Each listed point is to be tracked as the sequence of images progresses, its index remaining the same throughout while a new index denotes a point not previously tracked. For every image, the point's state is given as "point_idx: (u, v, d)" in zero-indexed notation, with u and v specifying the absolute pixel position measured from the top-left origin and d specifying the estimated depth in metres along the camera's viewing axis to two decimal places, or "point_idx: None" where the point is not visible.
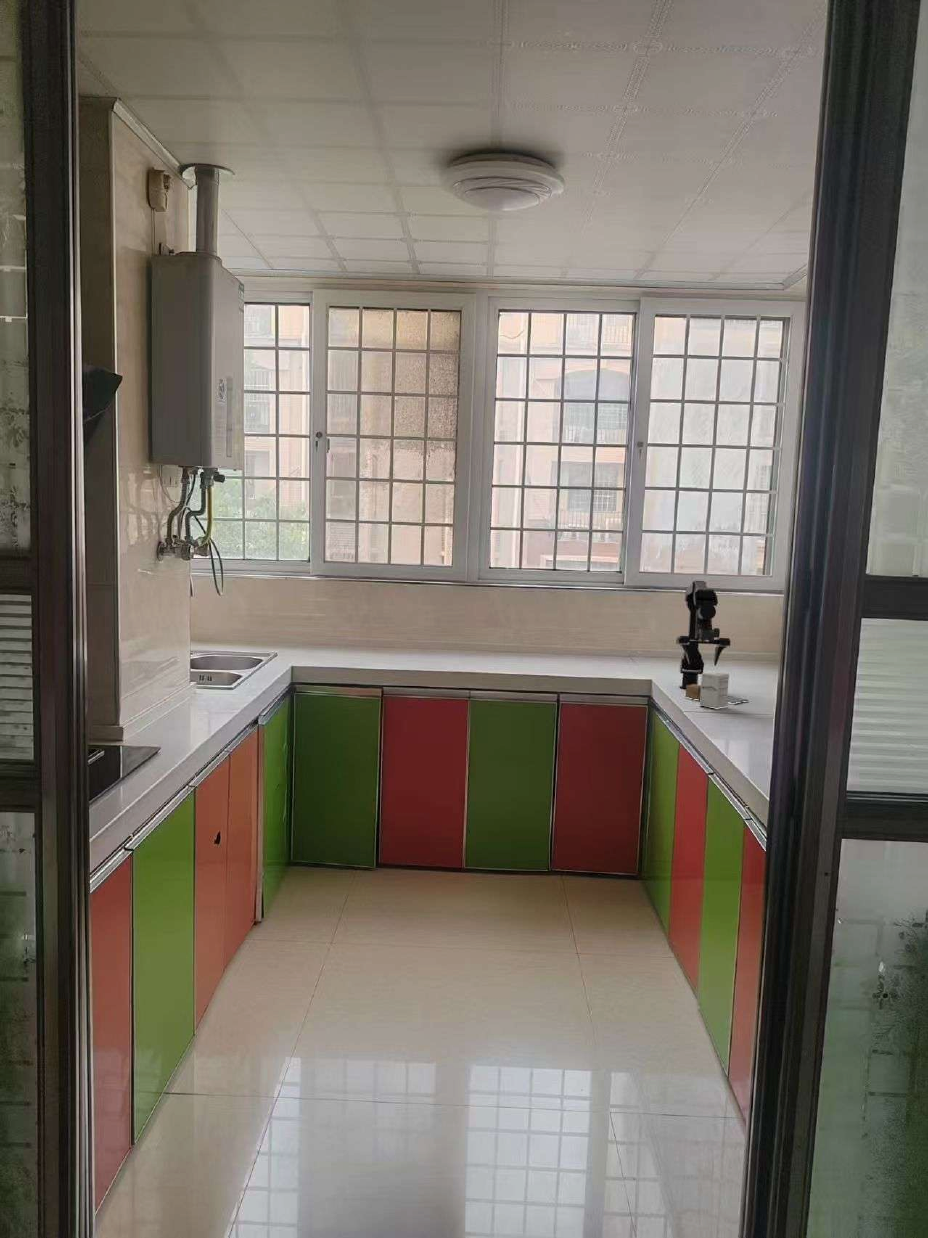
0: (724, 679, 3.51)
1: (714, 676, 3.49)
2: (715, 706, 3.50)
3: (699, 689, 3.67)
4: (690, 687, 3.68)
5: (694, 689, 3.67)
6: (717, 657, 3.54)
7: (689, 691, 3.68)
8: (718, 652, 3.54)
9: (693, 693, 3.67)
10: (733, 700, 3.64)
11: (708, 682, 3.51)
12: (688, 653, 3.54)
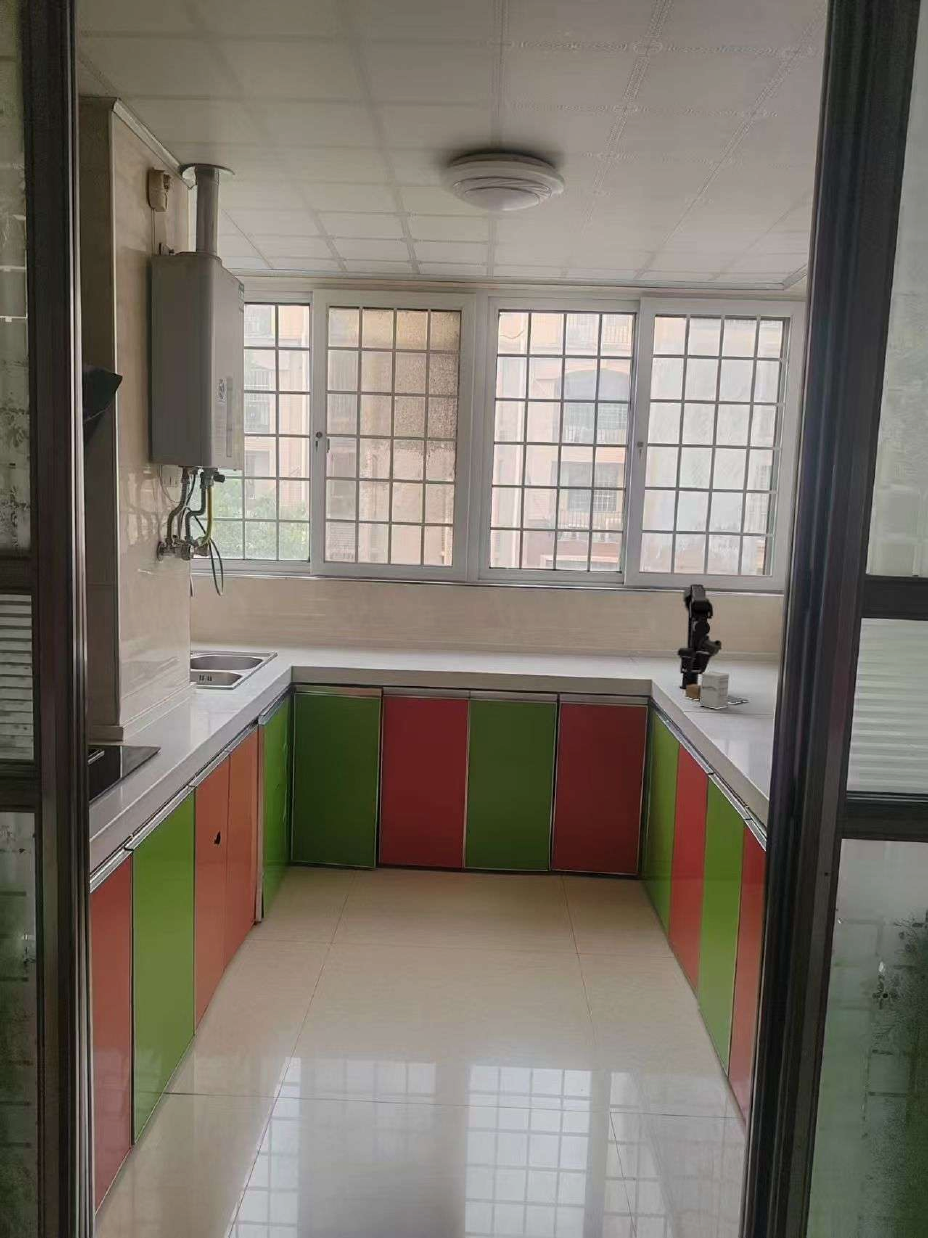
0: (724, 679, 3.51)
1: (714, 676, 3.49)
2: (715, 706, 3.50)
3: (699, 689, 3.67)
4: (690, 687, 3.68)
5: (694, 689, 3.67)
6: (706, 664, 3.71)
7: (689, 691, 3.68)
8: (708, 660, 3.71)
9: (693, 693, 3.67)
10: (733, 700, 3.64)
11: (708, 682, 3.51)
12: (691, 665, 3.63)
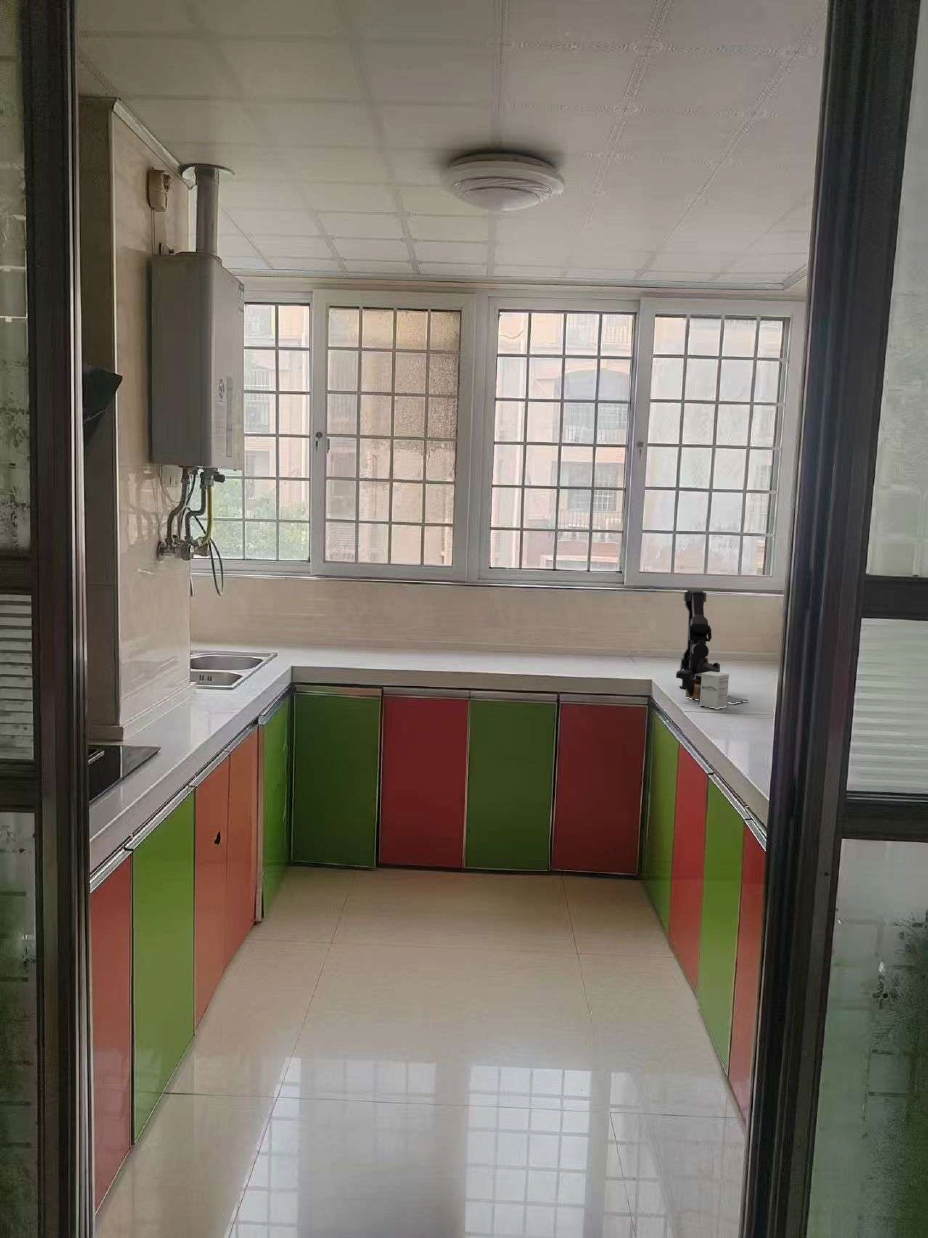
0: (724, 679, 3.51)
1: (714, 676, 3.49)
2: (715, 706, 3.50)
3: (699, 689, 3.67)
4: None
5: (694, 689, 3.67)
6: None
7: None
8: None
9: (693, 693, 3.67)
10: (733, 700, 3.64)
11: (708, 682, 3.51)
12: (693, 687, 3.66)
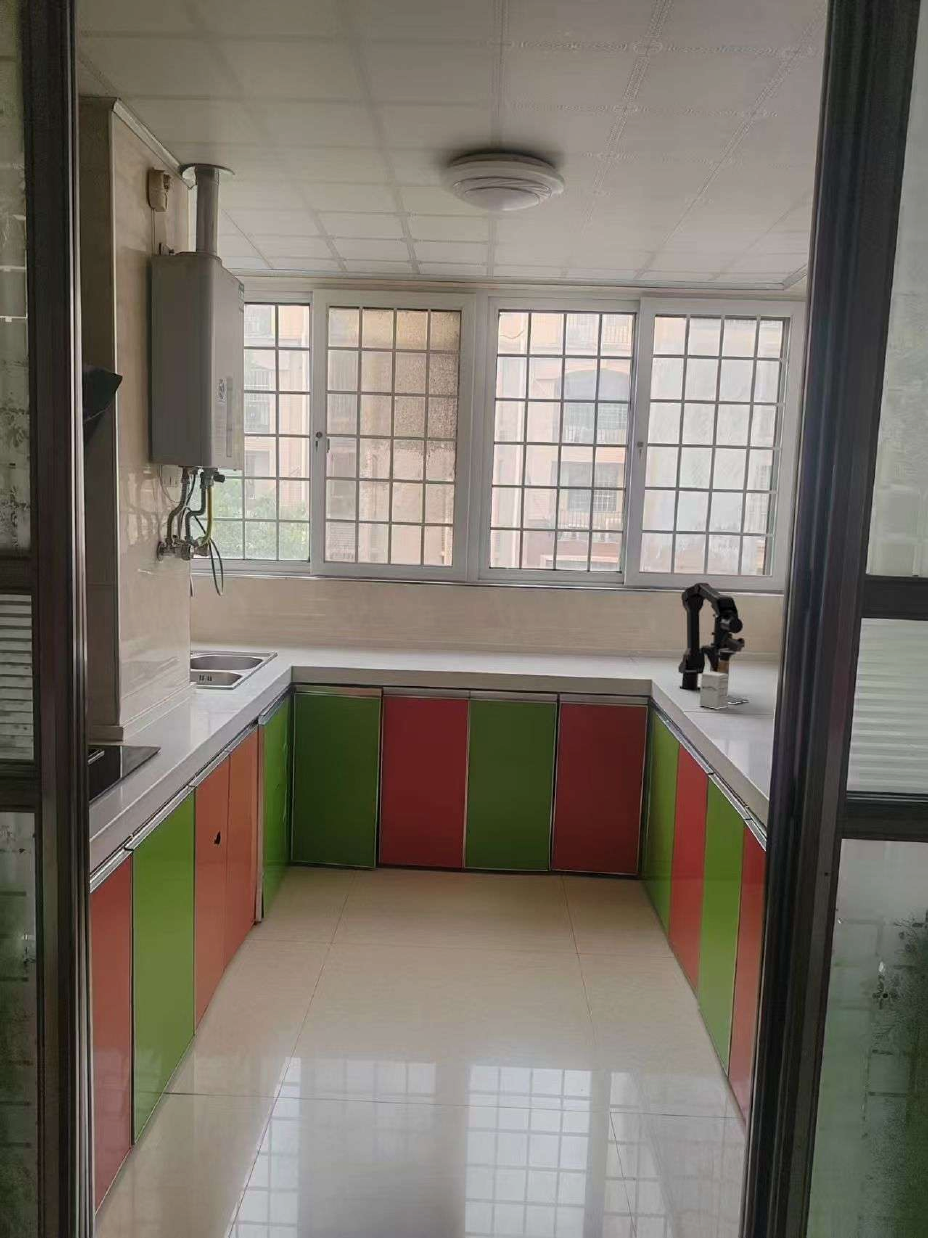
0: (724, 679, 3.51)
1: (714, 676, 3.49)
2: (715, 706, 3.50)
3: (723, 664, 3.63)
4: None
5: (718, 664, 3.63)
6: None
7: None
8: (728, 658, 3.67)
9: None
10: (733, 700, 3.64)
11: (708, 682, 3.51)
12: (717, 662, 3.62)
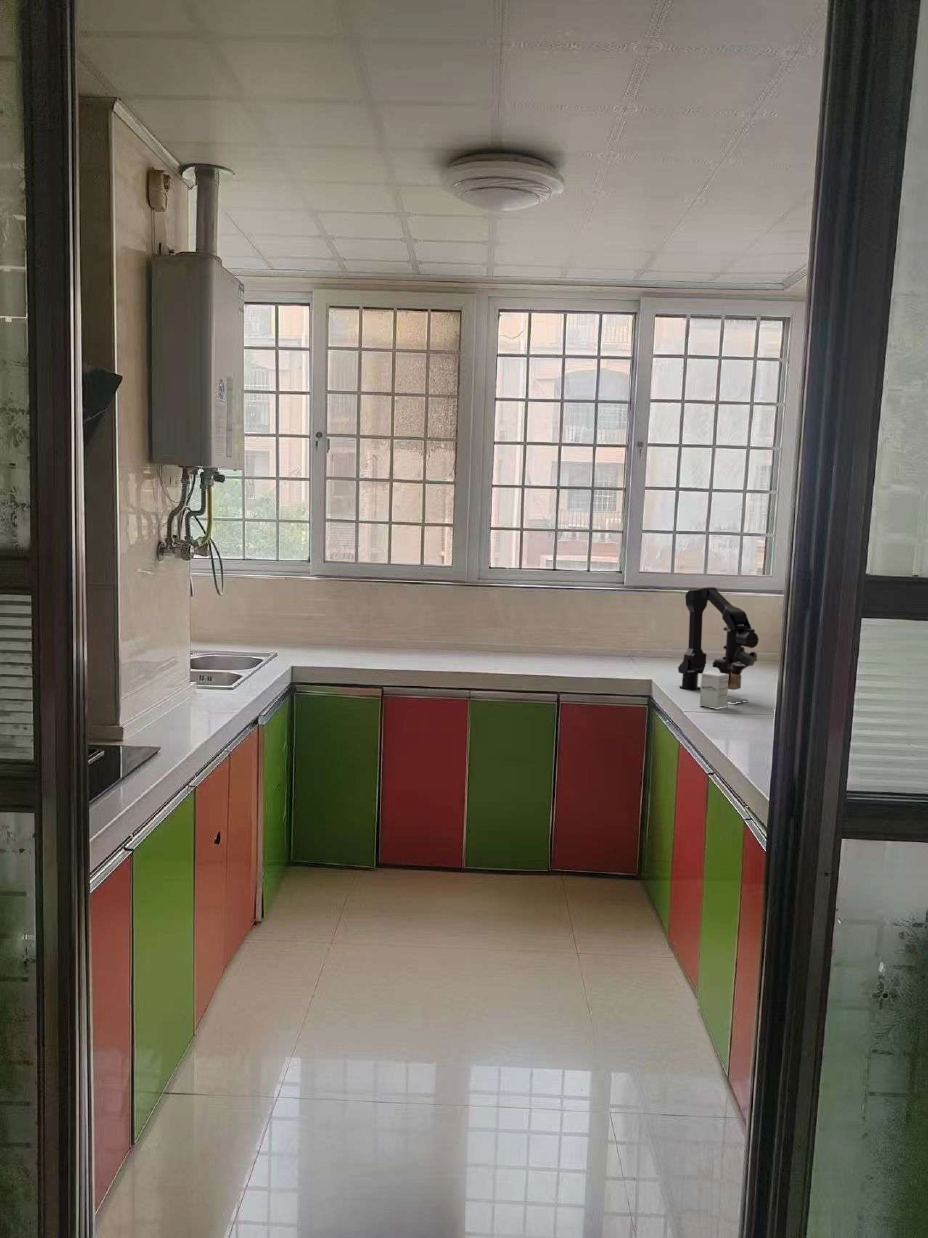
0: (724, 679, 3.51)
1: (714, 676, 3.49)
2: (715, 706, 3.50)
3: (736, 678, 3.63)
4: None
5: (731, 678, 3.63)
6: None
7: None
8: (740, 672, 3.67)
9: None
10: (733, 700, 3.64)
11: (708, 682, 3.51)
12: (729, 676, 3.62)
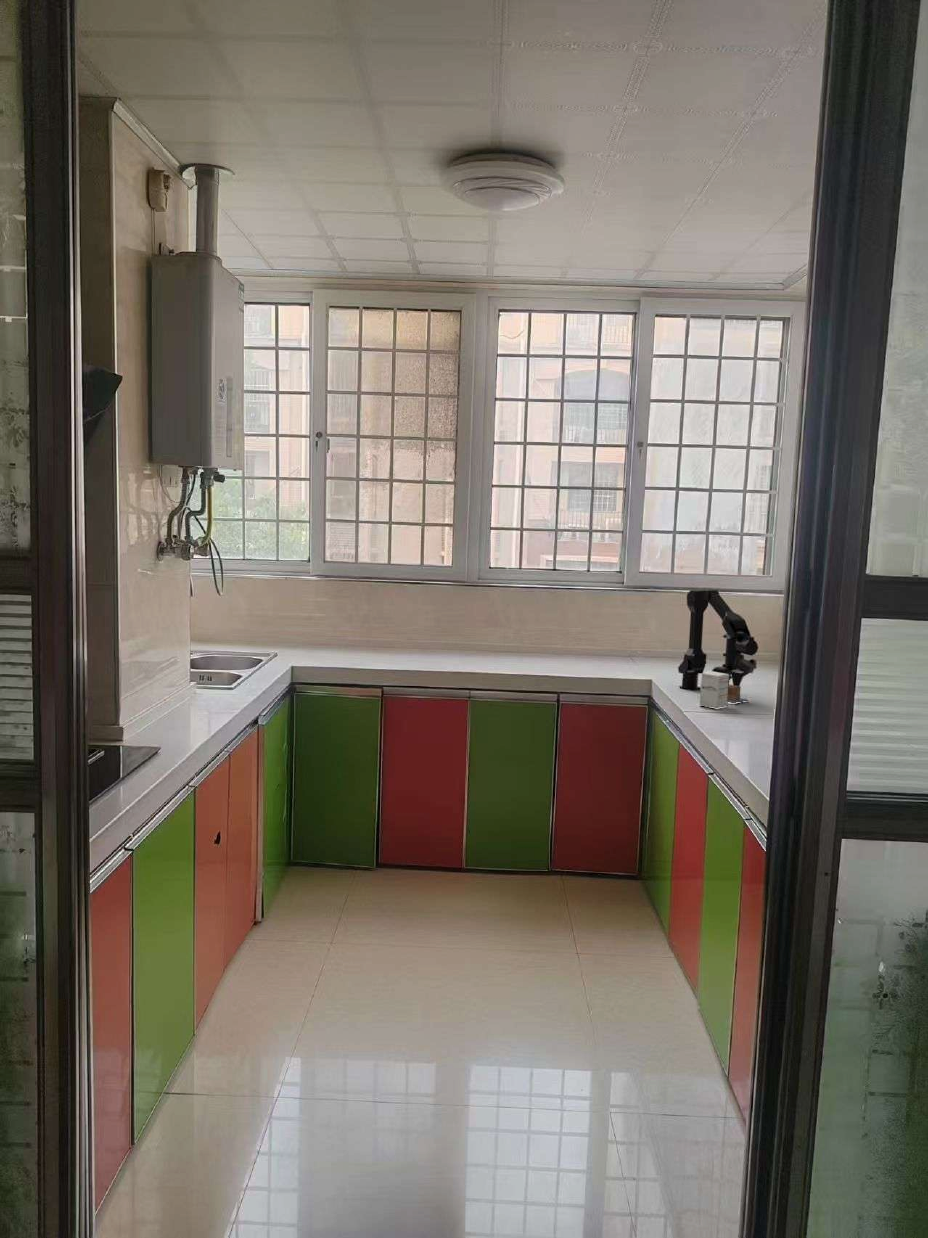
0: (724, 679, 3.51)
1: (714, 676, 3.49)
2: (715, 706, 3.50)
3: (735, 689, 3.63)
4: None
5: (730, 689, 3.63)
6: (739, 683, 3.68)
7: None
8: (741, 679, 3.67)
9: (729, 693, 3.64)
10: None
11: (708, 682, 3.51)
12: None
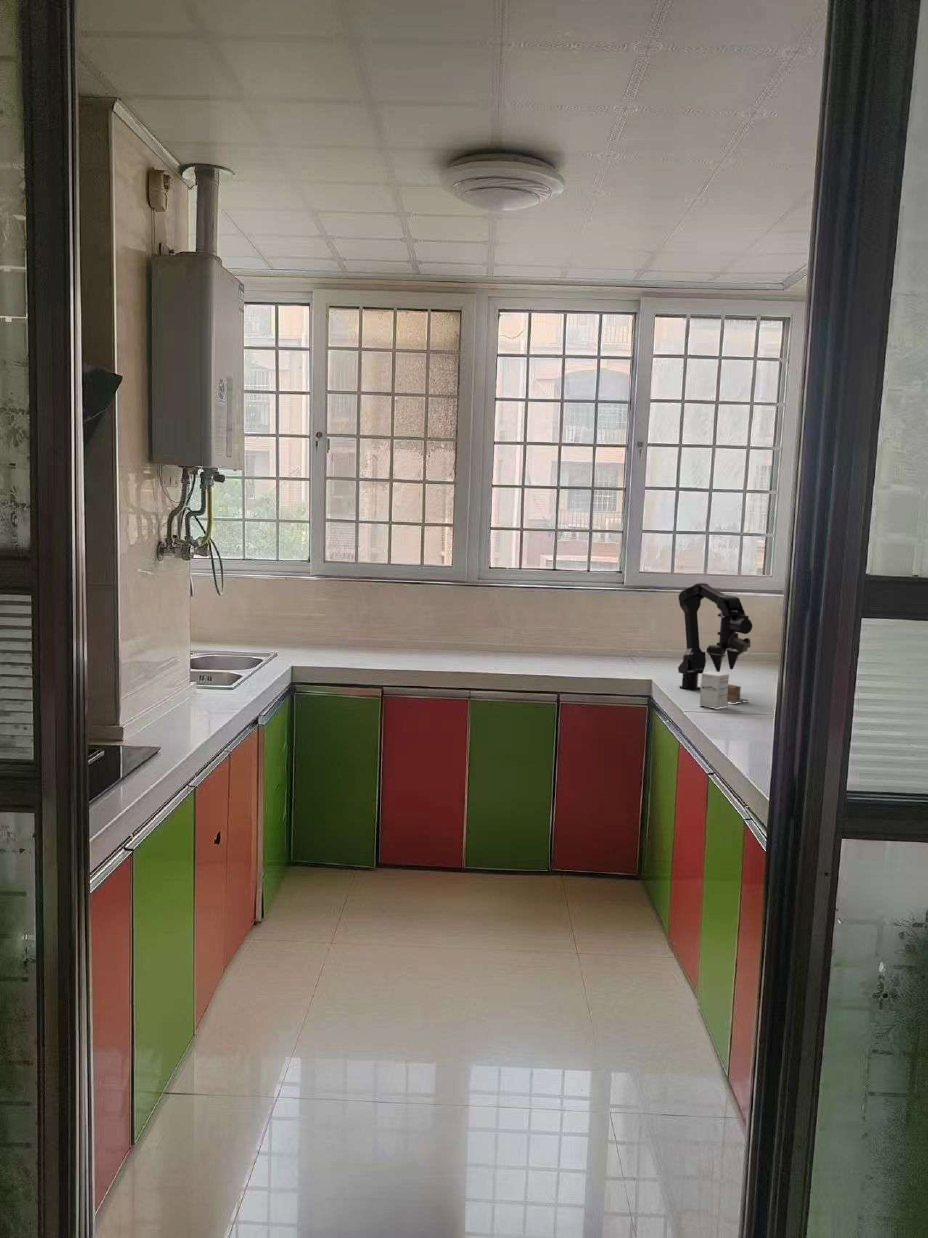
0: (724, 679, 3.51)
1: (714, 676, 3.49)
2: (715, 706, 3.50)
3: (735, 689, 3.63)
4: None
5: (730, 689, 3.63)
6: (735, 662, 3.72)
7: None
8: (736, 657, 3.71)
9: (729, 693, 3.64)
10: None
11: (708, 682, 3.51)
12: (720, 662, 3.64)
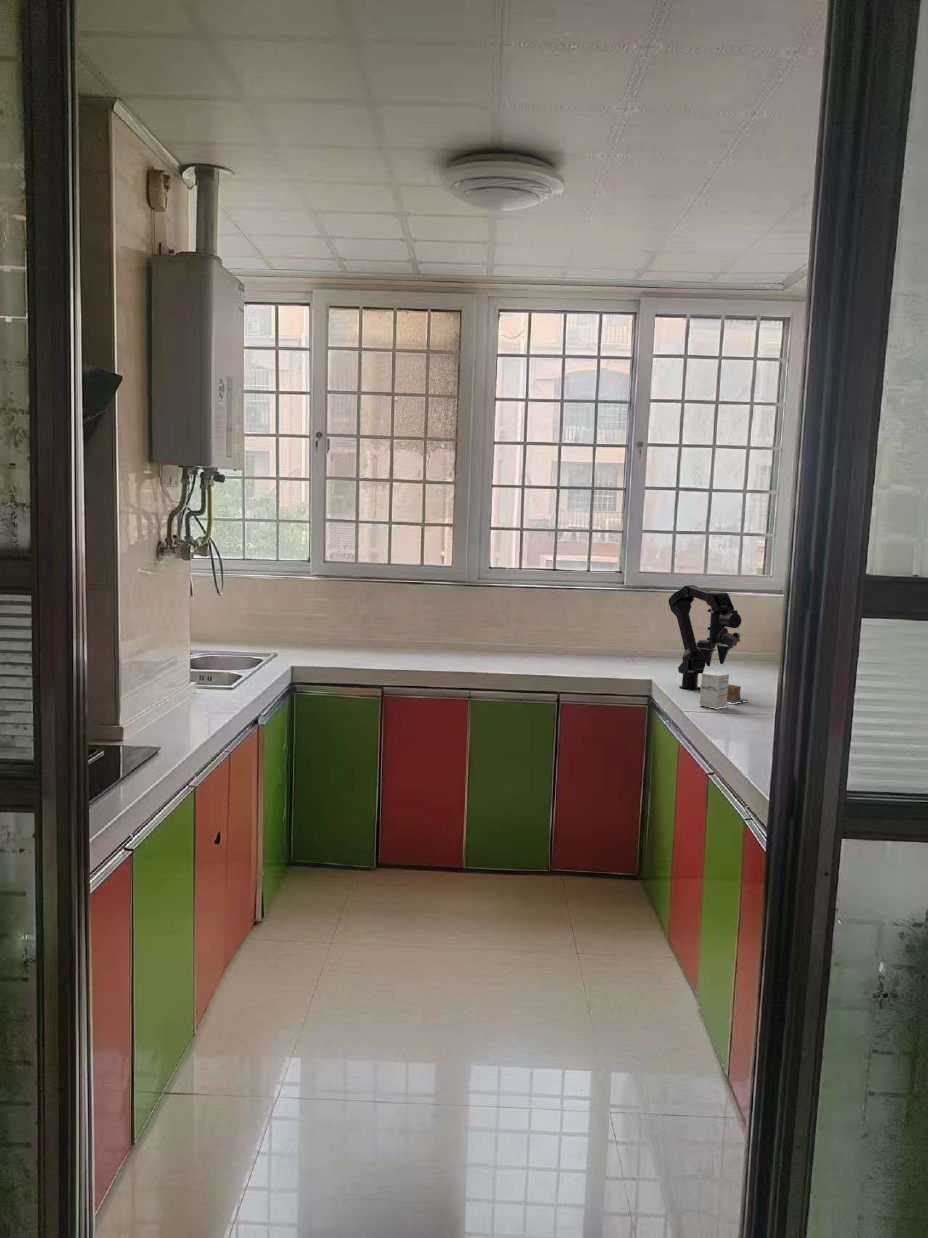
0: (724, 679, 3.51)
1: (714, 676, 3.49)
2: (715, 706, 3.50)
3: (735, 689, 3.63)
4: None
5: (730, 689, 3.63)
6: (725, 656, 3.77)
7: None
8: (726, 652, 3.77)
9: (729, 693, 3.64)
10: None
11: (708, 682, 3.51)
12: (710, 657, 3.70)
